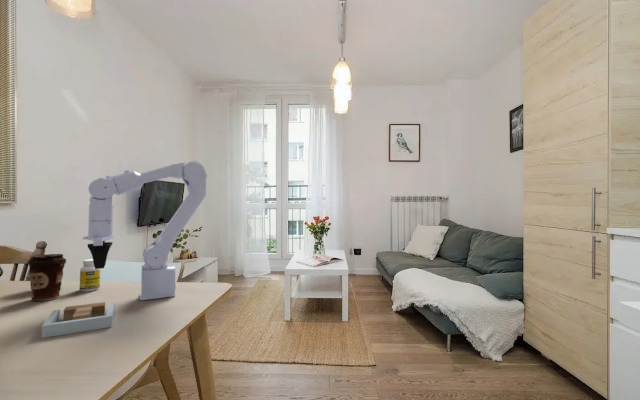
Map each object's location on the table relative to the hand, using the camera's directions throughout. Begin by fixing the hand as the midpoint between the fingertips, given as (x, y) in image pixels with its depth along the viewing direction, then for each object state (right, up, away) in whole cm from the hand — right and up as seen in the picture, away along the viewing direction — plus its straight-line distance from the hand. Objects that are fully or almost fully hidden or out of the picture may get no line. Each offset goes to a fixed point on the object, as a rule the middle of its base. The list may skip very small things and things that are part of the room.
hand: (99, 268), depth 89 cm
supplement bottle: (-13, -10, +13) cm, 21 cm away
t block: (+6, -10, -14) cm, 19 cm away
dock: (+7, -10, -16) cm, 20 cm away
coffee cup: (-18, -10, +3) cm, 21 cm away
